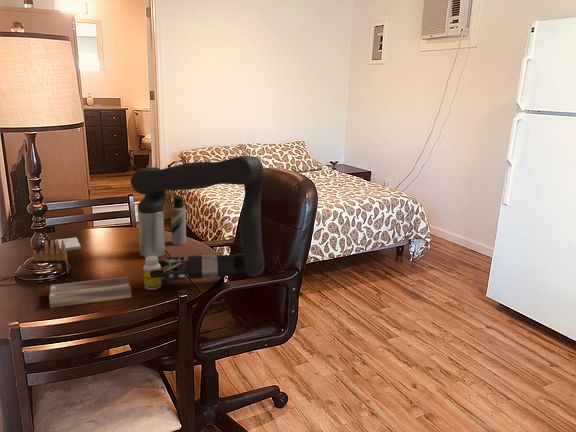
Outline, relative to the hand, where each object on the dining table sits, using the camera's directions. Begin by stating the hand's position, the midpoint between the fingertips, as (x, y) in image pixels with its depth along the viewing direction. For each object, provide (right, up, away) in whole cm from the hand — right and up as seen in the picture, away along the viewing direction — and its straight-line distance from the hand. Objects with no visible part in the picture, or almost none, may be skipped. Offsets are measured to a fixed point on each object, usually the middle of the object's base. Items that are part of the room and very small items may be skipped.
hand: (150, 269), depth 143 cm
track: (-16, -7, -6) cm, 19 cm away
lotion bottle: (-2, +5, +44) cm, 44 cm away
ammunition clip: (-36, -3, +8) cm, 37 cm away
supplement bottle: (0, -6, +2) cm, 6 cm away
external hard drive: (-44, +5, +36) cm, 57 cm away
